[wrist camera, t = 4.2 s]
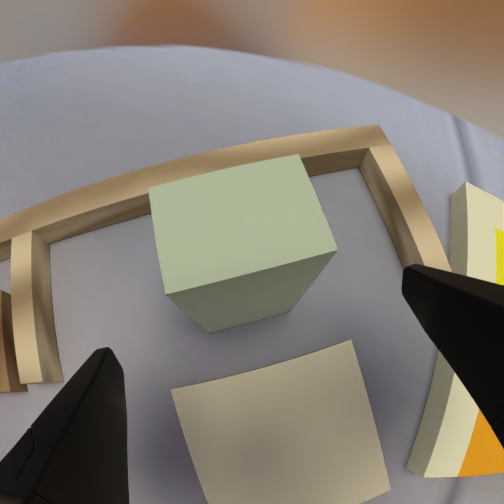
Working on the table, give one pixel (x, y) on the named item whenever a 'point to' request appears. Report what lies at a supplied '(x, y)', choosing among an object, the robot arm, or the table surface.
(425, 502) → the table surface
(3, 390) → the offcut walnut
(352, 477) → the mat
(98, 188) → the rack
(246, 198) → the tall green pillar
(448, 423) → the puzzle game
